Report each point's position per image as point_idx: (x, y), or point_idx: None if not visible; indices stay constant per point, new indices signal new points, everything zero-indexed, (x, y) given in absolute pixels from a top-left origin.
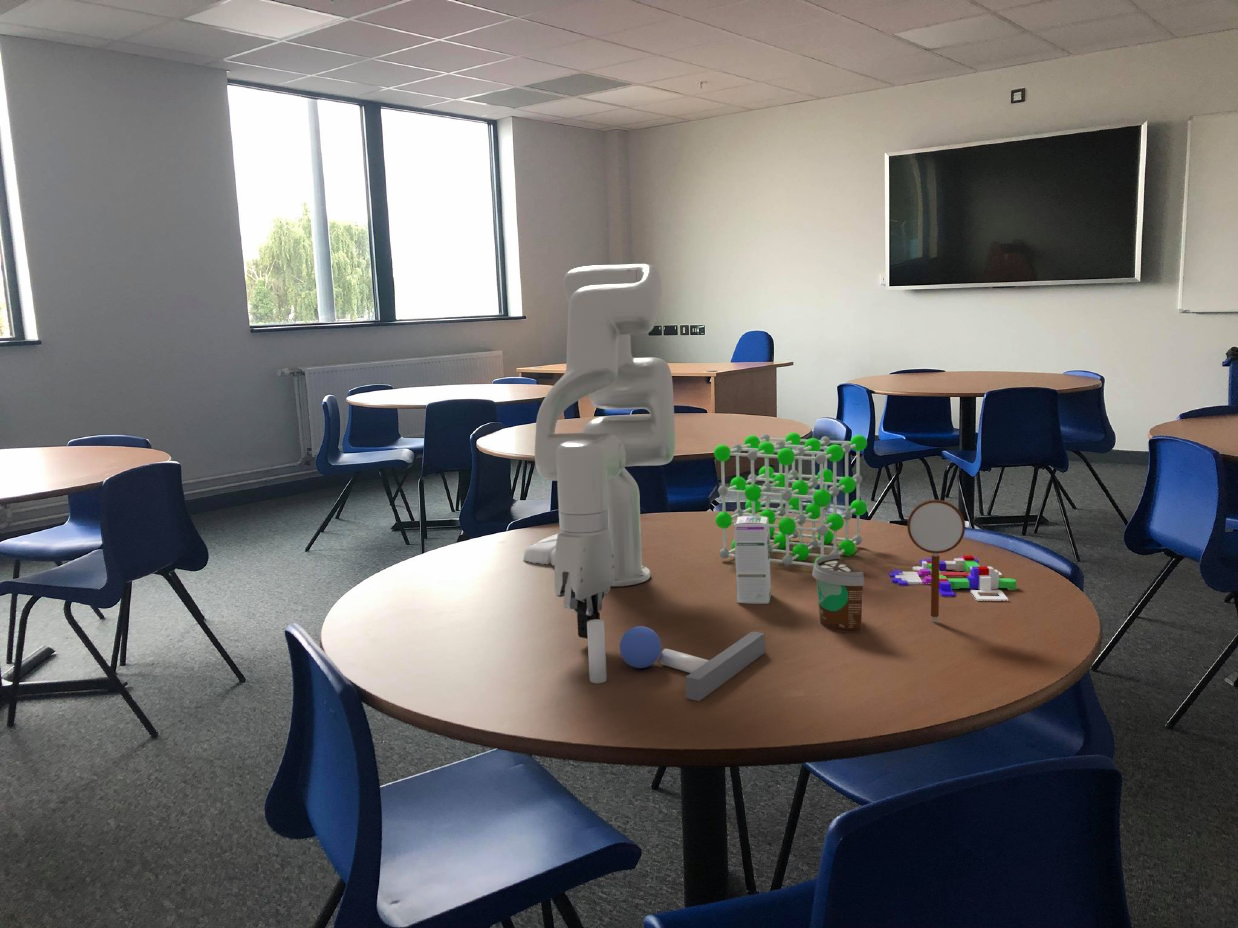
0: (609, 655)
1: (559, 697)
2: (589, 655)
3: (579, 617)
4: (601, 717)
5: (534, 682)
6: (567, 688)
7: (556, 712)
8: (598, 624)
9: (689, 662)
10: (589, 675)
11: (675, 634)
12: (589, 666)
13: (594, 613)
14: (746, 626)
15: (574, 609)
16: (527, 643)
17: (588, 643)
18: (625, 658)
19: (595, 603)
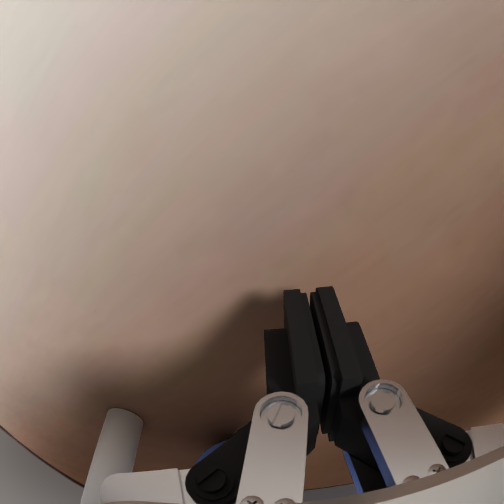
0: (260, 380)
1: (30, 393)
2: (91, 463)
3: (267, 392)
4: (61, 448)
5: (9, 326)
6: (55, 391)
7: (13, 406)
8: None
9: None
10: (105, 420)
11: (456, 389)
12: (98, 439)
13: (329, 429)
14: (494, 420)
15: (222, 445)
16: (168, 42)
17: (84, 487)
18: (195, 463)
19: (354, 467)
